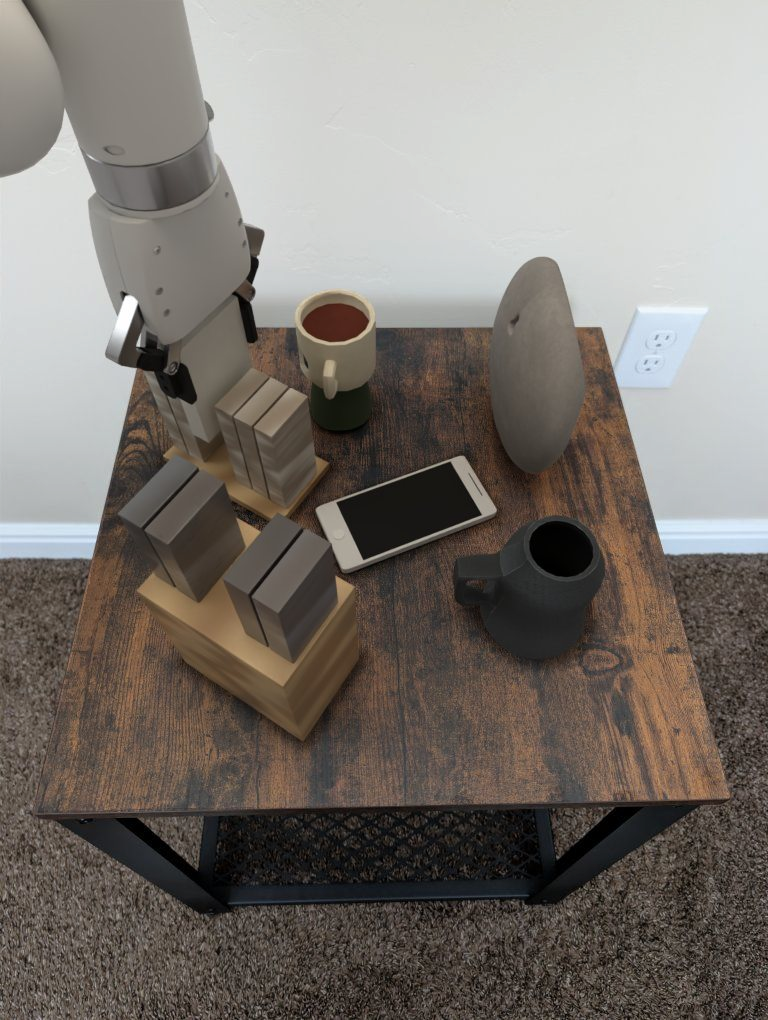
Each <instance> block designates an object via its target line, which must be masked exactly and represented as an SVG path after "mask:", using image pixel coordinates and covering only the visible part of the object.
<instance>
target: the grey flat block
mask: <svg viewBox="0 0 768 1020" xmlns="http://www.w3.org/2000/svg"><path fill="white" fill-rule="evenodd" d="M159 346H160V349H161V350H163V351H164V344H162V343H161V342H160V341H159ZM180 363H183V364H184V365H186V366H187V368H188V370H189V373H190V376H191V379H192V382H193V385H194V388H195V391H196V394H197V401H196V402H195V403H194V404H193V405H191V404H189V403H187V402H185V401H183V400H181V399H180V400H181V403H182V406H183V409H184V411H185V414H186V417H187V419H188V422H189V425H190V428H191V430H192V433H193V434H194V435H195V436H197V437H199V438H201V439H203V440H204V441H206V442H208V443H209V442H210V441H211V440H212V439H213V438H214V437H215V436H216V435H217V434H218V433H219V431H220V430H221V427H220V424H219V420H218V417H217V414H216V411H215V407H214V406H215V405H216V404H217V403H218V402H219V401H220V400H221V399H222V398H223V397H224V396H225V395H226V394H227V393H228V392H229V391H230V390H231V389H232V388H233V387H234V386H235V385H236V384H237V383H238V382H239V381H240V380H241V378H242V377H243V376H244V375H245V374H246V373H247V372H248V371H249V370H250V369H251V368H253V369H254V367H253V361H252V357H251V353H250V348H249V343H248V342H247V339H246V335H245V330H244V325H243V321H242V316H241V312H240V307H239V302H238V298H237V297H236V296H234V295H232V294H231V295H230V296H229V297H228V298H226V299H225V300H224V301H223V302H222V303H221V304H220V305H219V306H218V307H217V308H216V309H215V310H214V311H213V312H211V313H210V314H209V315H208V316H207V317H206V318H205V319H204V320H203V321H202V322H201V323H199V324H198V325H197V326H196V327H195V328H194V329H193V330H192V331H190V332H189V333H188V334H187V335H186V336H184V337H183V338H182V344H181V354H180Z"/></svg>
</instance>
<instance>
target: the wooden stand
mask: <svg viewBox="0 0 768 1020" xmlns="http://www.w3.org/2000/svg"><path fill="white" fill-rule="evenodd" d="M117 515H118V517H119V518H120V519H121V521H122V523H123V524H124V526H125V528H126V530H127V531H128V533H129V535H130V536H131V538H132V540H133V541H134V543H135V544H136V546H137V548H138V550H139V551H140V554H141V555H142V556H143V557H144V560H145V561H146V563H147V564H148V566H149V568H150V569H151V571H152V572H151V573H150V575H149V576H148V577H147V578H146V579H145V580H144V581H143V583H142V584H141V585H140V586H139V587H138V588H137V589H136V593H137V594H138V595H139V597H140V598H141V599H142V601H143V603H144V604H145V605H146V607H147V609H148V610H149V612H150V613H151V614H152V616H153V617H154V619H155V620H156V622H157V623H158V624H159V626H160V627H161V629H162V630H163V632H164V633H165V635H166V636H167V637H168V639H169V640H170V642H171V644H172V645H173V646H174V648H175V649H176V651H177V652H178V654H179V655H180V656H181V658H182V659H183V660H184V662H185V663H186V664H187V665H189V666H190V667H192V668H193V669H195V670H196V671H197V672H199V673H200V674H202V675H203V676H205V677H206V678H208V679H210V680H211V682H214V683H215V684H217V685H218V686H220V687H221V688H223V689H224V690H225V691H227V692H229V693H230V694H232V695H233V696H235V697H236V698H238V699H239V700H241V701H242V702H243V703H245V704H247V705H248V706H250V707H251V708H252V709H254V710H255V711H256V712H258V713H260V714H261V715H262V716H264V717H266V718H267V719H269V720H270V721H272V722H273V723H274V724H276V725H278V726H279V727H281V728H282V729H284V730H285V731H286V732H288V733H289V734H291V735H292V736H294V737H295V738H297V739H298V740H299V741H301V742H304V741H305V740H306V739H307V737H308V735H309V734H310V732H311V731H312V730H313V728H314V726H315V725H316V724H317V722H318V720H319V719H320V717H321V716H322V714H324V712H325V710H326V709H327V707H328V706H329V705H330V703H331V702H332V700H333V698H334V697H335V696H336V695H337V692H338V691H339V690H340V688H341V687H342V685H343V684H344V682H345V681H346V679H347V678H348V676H349V674H350V673H351V672H352V670H353V669H354V668H355V666H356V665H357V663H358V661H359V660H360V653H359V652H360V651H359V635H358V634H359V633H358V618H357V603H356V602H357V600H356V586H355V585H352V584H351V583H349V582H347V581H345V580H344V579H343V578H341V577H338V576H337V575H336V567H335V560H334V553H333V550H332V543H330V542H329V541H328V539H325V538H324V537H321V536H320V535H319V534H316V533H315V532H313V531H312V530H309V529H308V528H305V529H304V527H303V526H302V525H301V524H299V523H297V522H296V521H294V520H292V519H291V518H289V519H288V518H287V517H285V516H283V515H282V514H280V513H278V512H277V513H276V514H275V516H274V517H273V518H272V519H271V520H270V522H269V521H268V523H267V524H266V525H265V526H264V527H263V529H261V531H260V530H259V529H257V528H256V527H254V526H252V525H250V524H248V523H247V522H245V521H244V520H241V519H240V518H239V517H237V515H236V513H235V510H234V507H233V502H232V500H231V499H230V497H229V494H228V491H227V488H226V485H225V482H223V481H222V480H220V479H218V478H216V477H215V476H213V475H211V474H210V473H208V472H206V471H204V470H203V469H201V470H200V471H199V468H198V467H197V466H196V465H194V464H192V463H190V462H189V461H187V460H185V459H183V458H182V457H180V456H178V455H176V454H175V455H174V456H173V457H172V458H171V459H170V460H169V461H168V462H165V464H164V465H163V466H162V467H161V468H160V469H159V470H158V471H157V472H156V473H155V474H154V476H153V477H152V478H150V480H148V482H147V483H145V485H144V486H143V487H142V488H141V489H140V490H139V491H138V492H137V493H136V494H135V495H134V496H133V497H132V498H131V499H130V500H129V501H128V502H127V503H126V504H125V505H124V506H123V507H122V508H121V509H120V510H119V512H118V513H117Z"/></svg>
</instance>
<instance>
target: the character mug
mask: <svg viewBox="0 0 768 1020" xmlns="http://www.w3.org/2000/svg"><path fill="white" fill-rule="evenodd" d="M375 313H376V311H375V308H374V306H373V305H372V304H371V303H370V301H369V300H368V298H366V297H365V296H363V295H361V294H359V293H358V292H356V291H352V290H347V289H343V288H333V289H332V288H331V289H324V290H321V291H317V292H315V293H312V294H311V295H309V296H308V297H306V298H305V299H303V300H302V301H301V302H300V303H299V305H298V306H297V307H296V310H295V312H294V327H295V334H296V341H297V348H298V357H299V366H300V370H301V372H302V373H303V375H304V376H305V378H306V379H307V380H308V381H310V382H311V387H310V401H309V411H310V415H311V417H312V419H313V421H314V422H315V423H316V424H317V425H318V426H320V427H321V428H322V429H324V430H331V431H337V432H339V431H349V430H353V429H355V428H359V427H360V426H362V425H364V424H365V423H366V421H368V419H369V418H370V417H371V416H372V409H373V401H372V395H371V390H370V389H371V388H370V385H369V384H370V383H369V380H370V379H371V378H372V376H373V374H374V372H375V369H376V367H377V366H376V365H377V322H376V314H375Z"/></svg>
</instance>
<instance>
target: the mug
mask: <svg viewBox="0 0 768 1020" xmlns="http://www.w3.org/2000/svg"><path fill="white" fill-rule="evenodd" d="M605 560H606V559H605V557H604V555H603V551H602V549H601V547H600V545H599V542H598V540H597V537H596V535H595V534H594V533H593V531H592V530H591V529H590V528H589V527H588V526H587V525H586V524H585V523H583V522H582V521H580V520H578V519H577V518H573V517H571V516H568V515H561V514H553V515H546V516H543V517H541V518H539V519H534V520H531V521H529V522H527V523H525V524H523V525H521V526H520V527H519V528H518V529H517V530H516V531H515V532H514V533H513V534H512V535H511V536H510V538H509V539H508V540H507V541H506V542H505V544H504V545H503V546H502V547H501V548H500V549H499V550H498V551H497V552H495V553H476V554H475V553H474V554H468V555H461V556H459V557H456V558H455V561H454V565H453V572H452V585H453V599H454V601H455V603H457V604H458V605H460V607H464V608H469V607H476V606H480V607H479V608H480V609H479V611H480V615H481V618H482V621H483V625H484V627H485V628H486V630H487V631H488V633H489V635H490V636H491V638H492V639H493V640H494V641H495V642H496V643H497V644H499V645H500V646H501V647H502V648H503V649H504V650H506V651H508V652H510V653H512V654H513V655H516V656H519V657H521V658H524V659H525V658H526V659H532V660H533V659H534V660H540V661H541V660H546V659H551V658H556V657H559V656H560V655H562V654H563V653H566V652H568V651H570V650H571V649H572V648H573V647H574V645H575V644H576V643H577V642H578V641H579V639H581V636H582V633H583V630H584V628H585V624H586V619H587V618H586V617H587V607H588V606H589V604H591V602H592V601H593V599H594V598H595V596H596V595H597V593H598V592H599V590H600V589H601V587H602V584H603V582H604V578H605V575H606V561H605ZM471 581H486V583H485V586H484V588H483V590H482V591H481V590H479V589H478V588H477V587H474V586H472V585H468V582H471Z"/></svg>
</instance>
